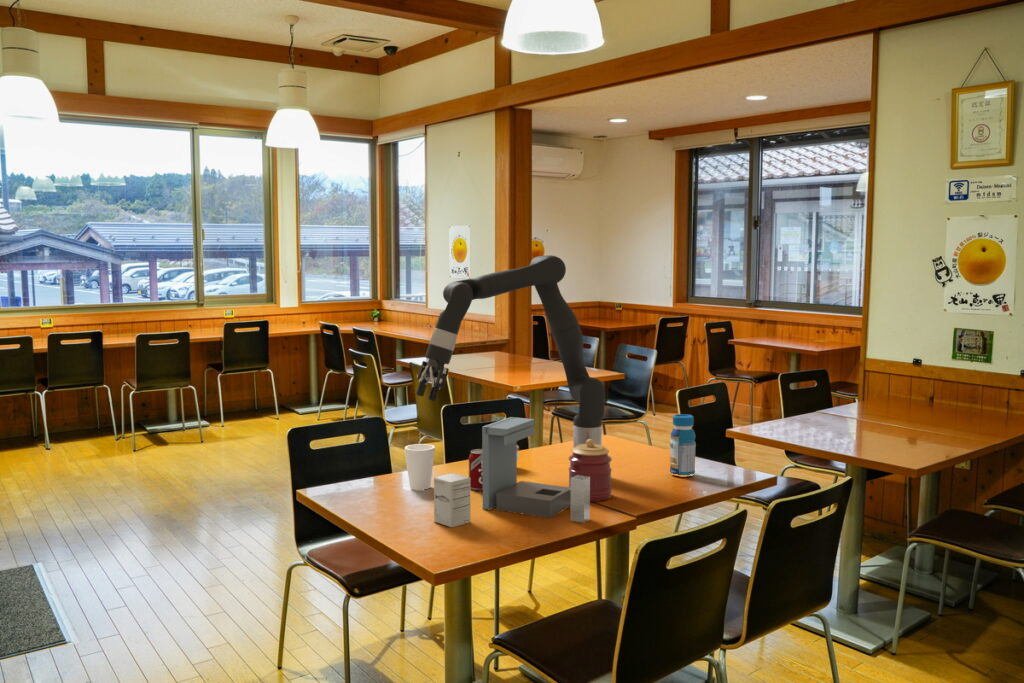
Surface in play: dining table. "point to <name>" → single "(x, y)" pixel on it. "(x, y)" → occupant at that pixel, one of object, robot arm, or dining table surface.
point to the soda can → (476, 469)
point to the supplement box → (452, 499)
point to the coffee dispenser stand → (501, 455)
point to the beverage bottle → (682, 445)
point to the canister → (592, 468)
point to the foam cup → (420, 465)
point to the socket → (534, 499)
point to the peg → (580, 498)
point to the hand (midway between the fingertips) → (425, 398)
